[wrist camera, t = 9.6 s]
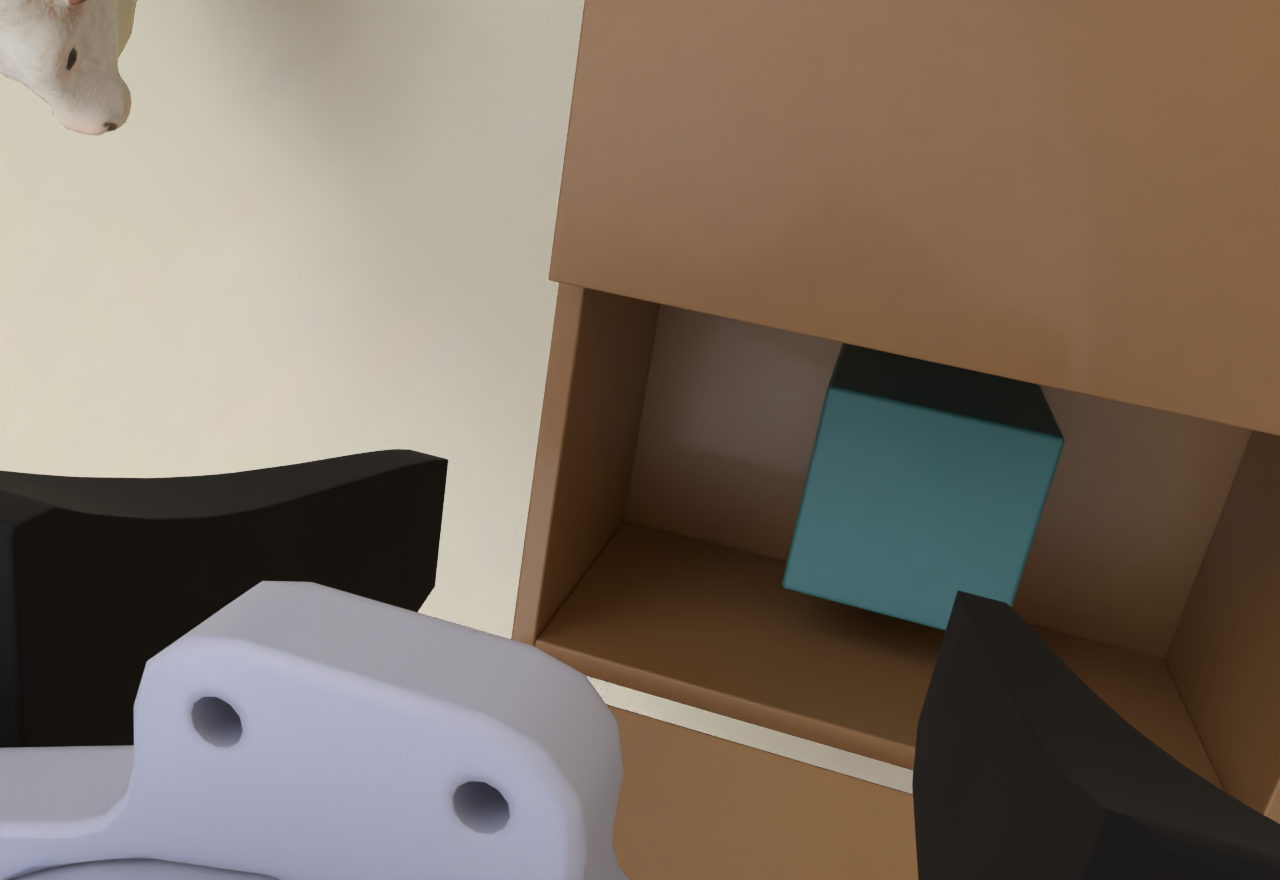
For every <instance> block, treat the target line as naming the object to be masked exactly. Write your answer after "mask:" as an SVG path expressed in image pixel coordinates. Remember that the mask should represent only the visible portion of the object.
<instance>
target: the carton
mask: <svg viewBox="0 0 1280 880" xmlns="http://www.w3.org/2000/svg"><path fill="white" fill-rule="evenodd" d="M549 280H551V281H555V282H559V288H558V296H557V303H556V311H555V318H554V326H553V333H552V341H551V348H550V355H549V363H548V370H547V378H546V385H545V393H544V400H543V408H542V415H541V423H540V430H539V437H538V445H537V452H536V460H535V467H534V475H533V482H532V490H531V497H530V505H529V512H528V519H527V527H526V534H525V542H524V549H523V557H522V564H521V572H520V579H519V587H518V594H517V602H516V609H515V616H514V624H513V631H512V639H511V640H514V641H518V642H521V643H525V644H528V645H532V646H534V647H536V648H538V649H540V650H541V651H543V652H545V653H547V654H549V655H550V656H552V657H554V658H556V659H558V660H559V661H561V662H563V663H565V664H567V665H568V666H570V667H572V668H574V669H576V670H577V671H579V672H581V673H583V674H585V675H586V676H589V677H592V678H596V679H599V680H603V681H606V682H610V683H613V684H617V685H620V686H624V687H627V688H630V689H634V690H637V691H641V692H644V693H648V694H651V695H655V696H658V697H662V698H665V699H668V700H672V701H675V702H679V703H682V704H686V705H689V706H693V707H696V708H700V709H703V710H706V711H710V712H713V713H717V714H720V715H724V716H727V717H731V718H734V719H738V720H741V721H744V722H748V723H751V724H755V725H758V726H762V727H765V728H769V729H772V730H776V731H779V732H782V733H786V734H789V735H793V736H796V737H800V738H803V739H807V740H810V741H814V742H817V743H820V744H824V745H827V746H831V747H834V748H838V749H841V750H845V751H848V752H852V753H855V754H858V755H862V756H865V757H869V758H872V759H876V760H879V761H883V762H886V763H890V764H893V765H896V766H900V767H903V768H907V769H910V770H914V759H915V748H916V737H917V726H918V721H919V717H920V714H921V711H922V707H923V704H924V701H925V697H926V694H927V691H928V687H929V684H930V681H931V677H932V674H933V671H934V667H935V664H936V661H937V657H938V654H939V651H940V647H941V644H942V641H943V638H944V634H945V630H942V629H938V628H934V627H930V626H926V625H922V624H919V623H915V622H911V621H907V620H903V619H900V618H896V617H892V616H888V615H884V614H881V613H877V612H873V611H869V610H865V609H862V608H858V607H854V606H850V605H846V604H843V603H839V602H835V601H831V600H827V599H823V598H820V597H816V596H812V595H808V594H804V593H801V592H797V591H793V590H789V589H786V588H784V587H783V585H782V581H783V577H784V572H785V568H786V564H787V559H788V555H789V551H790V547H791V542H792V538H793V534H794V529H795V525H796V521H797V516H798V512H799V508H800V503H801V499H802V495H803V491H804V486H805V482H806V478H807V473H808V469H809V465H810V460H811V456H812V452H813V447H814V443H815V439H816V435H817V430H818V426H819V422H820V417H821V413H822V409H823V404H824V400H825V396H826V391H827V388H828V385H829V382H830V379H831V376H832V373H833V370H834V367H835V364H836V361H837V358H838V356H839V353H840V350H841V347H842V344H843V343H846V344H850V345H855V346H860V347H865V348H869V349H874V350H879V351H883V352H888V353H893V354H897V355H902V356H907V357H911V358H916V359H921V360H925V361H930V362H935V363H940V364H944V365H949V366H954V367H958V368H963V369H968V370H972V371H977V372H982V373H986V374H991V375H996V376H1000V377H1005V378H1010V379H1015V380H1019V381H1024V382H1029V383H1033V384H1038V385H1040V387H1041V389H1042V391H1043V394H1044V396H1045V398H1046V400H1047V402H1048V404H1049V407H1050V409H1051V411H1052V413H1053V415H1054V417H1055V419H1056V422H1057V424H1058V426H1059V428H1060V430H1061V432H1062V435H1063V437H1064V441H1065V443H1064V446H1063V449H1062V452H1061V455H1060V458H1059V461H1058V465H1057V468H1056V471H1055V474H1054V477H1053V480H1052V483H1051V486H1050V490H1049V493H1048V496H1047V499H1046V502H1045V505H1044V508H1043V511H1042V515H1041V518H1040V521H1039V524H1038V527H1037V530H1036V533H1035V536H1034V540H1033V543H1032V546H1031V549H1030V552H1029V555H1028V558H1027V561H1026V565H1025V568H1024V571H1023V574H1022V577H1021V580H1020V583H1019V586H1018V590H1017V593H1016V596H1015V599H1014V602H1013V605H1012V608H1013V609H1014V610H1015V611H1016V612H1017V613H1018V614H1019V615H1020V616H1021V617H1022V618H1023V619H1024V620H1025V621H1026V622H1027V623H1028V624H1029V625H1030V626H1031V627H1032V628H1033V630H1034V631H1035V632H1036V633H1037V634H1038V635H1039V636H1040V637H1041V638H1042V639H1043V640H1044V641H1045V642H1046V644H1047V645H1048V646H1049V647H1050V648H1051V649H1052V650H1053V651H1054V652H1055V653H1056V654H1057V655H1058V656H1059V657H1060V658H1061V659H1062V661H1063V662H1064V663H1065V664H1066V665H1067V666H1068V667H1069V668H1070V669H1071V670H1072V671H1073V672H1074V673H1075V674H1076V675H1077V676H1078V677H1079V678H1080V679H1081V680H1082V681H1083V682H1084V683H1085V684H1086V685H1087V686H1088V687H1089V688H1090V689H1091V690H1092V691H1093V692H1095V693H1096V694H1097V695H1098V696H1099V697H1100V698H1101V699H1102V700H1103V701H1104V702H1106V703H1107V704H1108V705H1109V706H1110V707H1111V708H1112V709H1113V710H1114V711H1115V712H1117V713H1118V714H1119V715H1120V716H1121V717H1122V718H1123V719H1124V720H1126V721H1127V722H1128V723H1129V724H1130V725H1132V726H1133V727H1134V728H1135V729H1137V730H1138V731H1139V732H1140V733H1141V734H1143V735H1144V736H1145V737H1147V738H1148V739H1149V740H1151V741H1152V742H1153V743H1155V744H1156V745H1157V746H1159V747H1160V748H1161V749H1163V750H1164V751H1165V752H1167V753H1168V754H1169V755H1171V756H1172V757H1173V758H1175V759H1176V760H1177V761H1179V762H1180V763H1181V764H1183V765H1184V766H1186V767H1187V768H1189V769H1190V770H1192V771H1193V772H1195V773H1196V774H1198V775H1199V776H1201V777H1202V778H1204V779H1205V780H1207V781H1208V782H1210V783H1212V784H1213V785H1215V786H1216V787H1218V788H1220V789H1221V790H1223V791H1224V792H1226V793H1228V794H1229V795H1231V796H1233V797H1234V798H1236V799H1237V800H1239V801H1241V802H1242V803H1244V804H1245V805H1247V806H1249V807H1250V808H1252V809H1254V810H1256V811H1258V812H1259V813H1261V814H1263V815H1265V816H1267V817H1268V818H1270V819H1272V820H1274V821H1276V822H1277V823H1279V824H1280V0H585V4H584V11H583V19H582V27H581V34H580V42H579V50H578V57H577V65H576V73H575V80H574V88H573V96H572V103H571V111H570V119H569V126H568V134H567V142H566V149H565V157H564V165H563V172H562V180H561V188H560V195H559V203H558V211H557V218H556V226H555V234H554V241H553V249H552V257H551V264H550V272H549Z"/></svg>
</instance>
